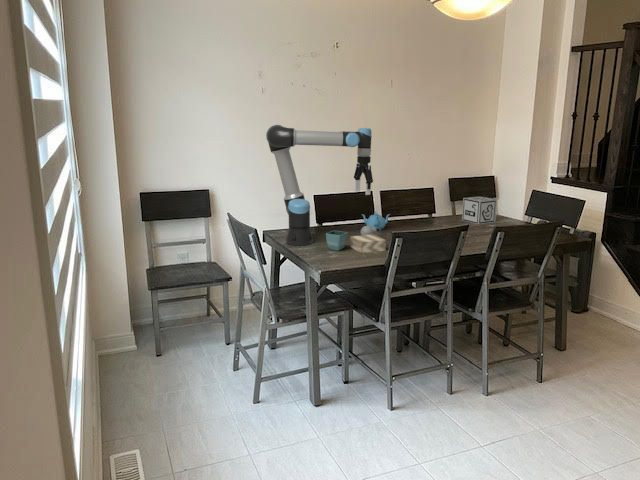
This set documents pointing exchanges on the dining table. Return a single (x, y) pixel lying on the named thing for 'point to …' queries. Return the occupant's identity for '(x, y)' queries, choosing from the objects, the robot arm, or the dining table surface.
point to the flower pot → (336, 240)
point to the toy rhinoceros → (368, 230)
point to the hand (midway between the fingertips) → (362, 193)
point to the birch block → (367, 243)
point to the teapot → (376, 221)
